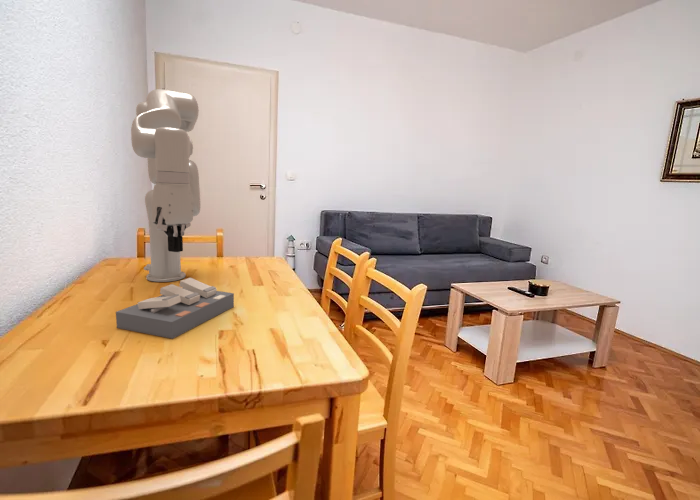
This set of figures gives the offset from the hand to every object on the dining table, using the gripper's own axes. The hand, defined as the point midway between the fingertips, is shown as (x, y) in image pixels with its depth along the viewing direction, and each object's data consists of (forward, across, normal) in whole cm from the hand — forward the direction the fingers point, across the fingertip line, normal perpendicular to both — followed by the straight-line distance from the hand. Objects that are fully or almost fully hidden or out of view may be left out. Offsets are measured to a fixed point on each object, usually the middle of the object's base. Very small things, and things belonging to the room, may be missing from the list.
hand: (175, 251), depth 95 cm
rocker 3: (+11, -6, +2) cm, 13 cm away
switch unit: (+17, +1, +2) cm, 17 cm away
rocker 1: (+11, +8, +2) cm, 14 cm away
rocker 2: (+11, +1, +2) cm, 11 cm away
